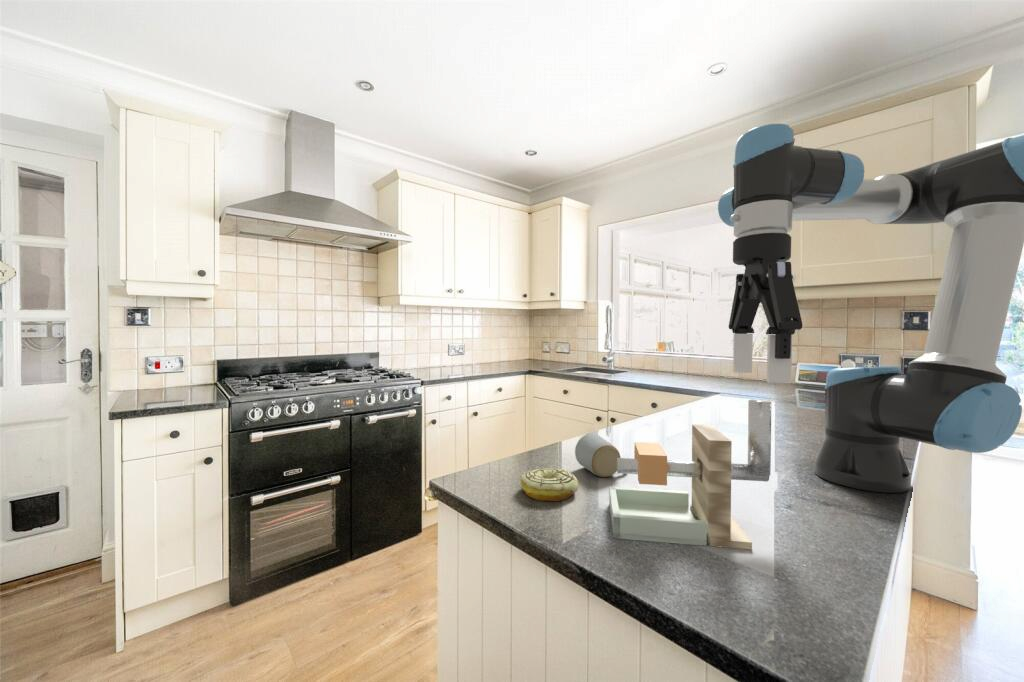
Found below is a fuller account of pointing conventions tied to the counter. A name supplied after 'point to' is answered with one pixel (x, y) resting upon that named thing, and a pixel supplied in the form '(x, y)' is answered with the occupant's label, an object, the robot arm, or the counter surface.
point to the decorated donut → (549, 484)
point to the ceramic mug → (597, 455)
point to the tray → (654, 516)
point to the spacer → (651, 463)
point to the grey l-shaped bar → (752, 471)
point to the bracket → (715, 488)
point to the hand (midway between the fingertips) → (758, 377)
